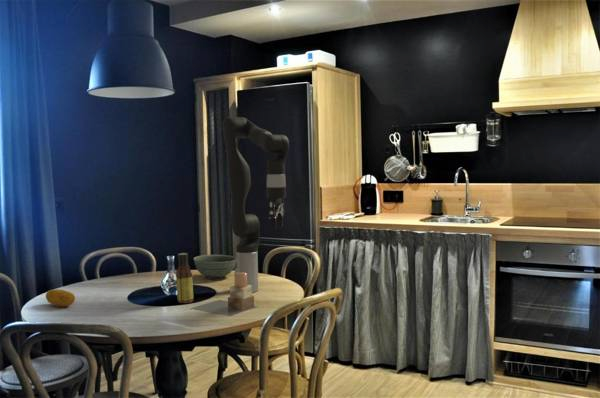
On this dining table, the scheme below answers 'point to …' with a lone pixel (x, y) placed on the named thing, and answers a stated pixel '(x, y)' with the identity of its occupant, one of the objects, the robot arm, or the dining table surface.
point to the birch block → (241, 292)
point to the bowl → (215, 265)
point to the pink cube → (240, 279)
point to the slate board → (219, 308)
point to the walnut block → (241, 303)
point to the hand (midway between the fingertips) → (276, 227)
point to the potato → (60, 297)
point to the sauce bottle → (184, 280)
